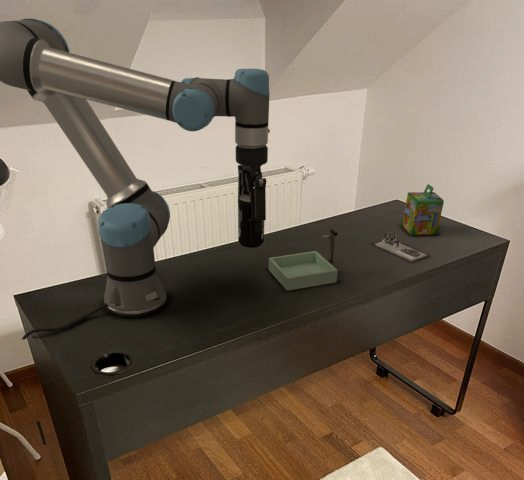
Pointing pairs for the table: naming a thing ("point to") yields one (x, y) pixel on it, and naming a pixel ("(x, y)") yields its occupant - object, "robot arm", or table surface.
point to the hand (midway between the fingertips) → (251, 239)
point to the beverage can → (246, 222)
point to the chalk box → (422, 212)
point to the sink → (302, 270)
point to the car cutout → (399, 247)
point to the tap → (331, 245)
